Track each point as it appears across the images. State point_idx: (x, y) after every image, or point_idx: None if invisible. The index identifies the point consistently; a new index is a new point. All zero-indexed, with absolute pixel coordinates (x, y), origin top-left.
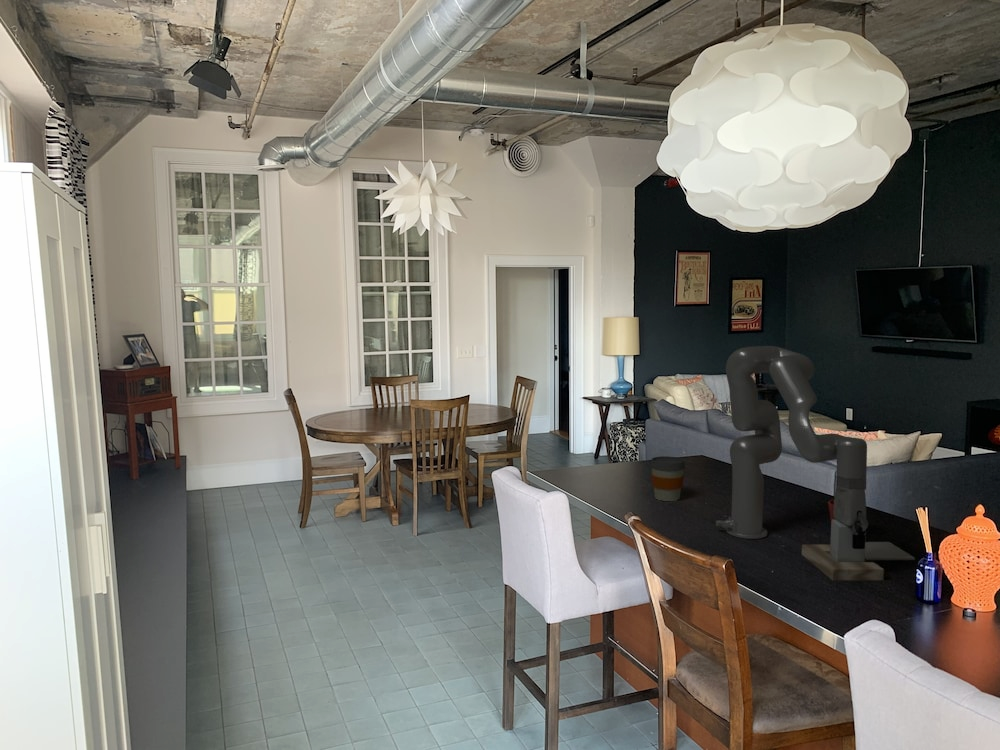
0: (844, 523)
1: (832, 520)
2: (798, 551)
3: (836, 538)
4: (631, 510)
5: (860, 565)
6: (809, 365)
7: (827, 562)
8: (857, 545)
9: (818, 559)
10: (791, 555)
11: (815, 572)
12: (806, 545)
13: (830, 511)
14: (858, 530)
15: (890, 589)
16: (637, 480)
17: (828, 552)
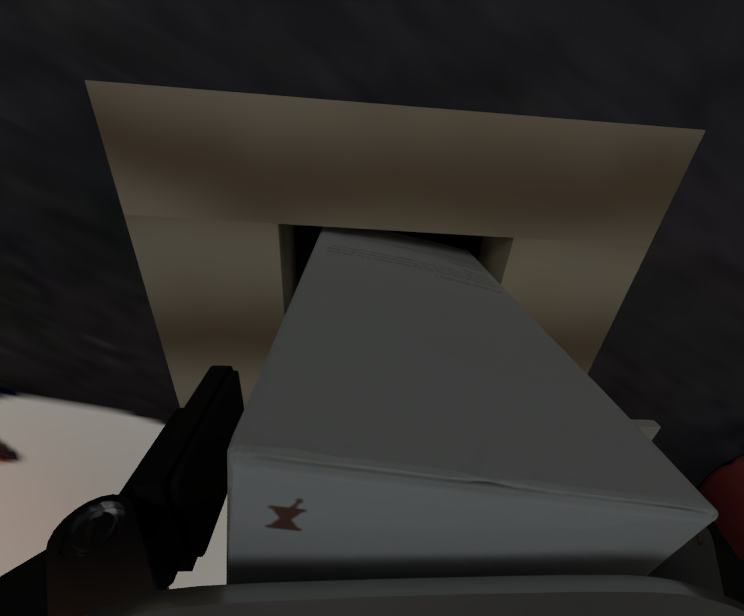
0: (224, 613)
1: (668, 505)
2: None
3: (350, 313)
4: None
5: (224, 328)
6: None
7: (265, 125)
8: (179, 409)
9: (379, 105)
10: (660, 31)
11: (297, 39)
12: (669, 159)
13: None
14: (18, 606)
15: (88, 345)
16: None
17: (500, 265)
